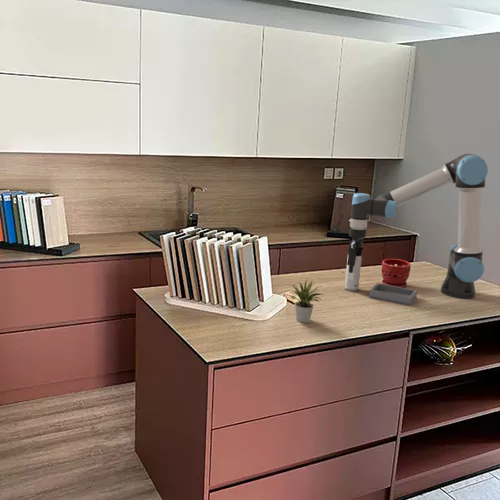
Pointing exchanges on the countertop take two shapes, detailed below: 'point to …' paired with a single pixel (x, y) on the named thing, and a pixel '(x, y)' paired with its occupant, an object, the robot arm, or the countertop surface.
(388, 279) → the plant pot
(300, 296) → the house plant
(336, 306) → the countertop surface
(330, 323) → the countertop surface
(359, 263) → the travel mug
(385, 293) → the tray
